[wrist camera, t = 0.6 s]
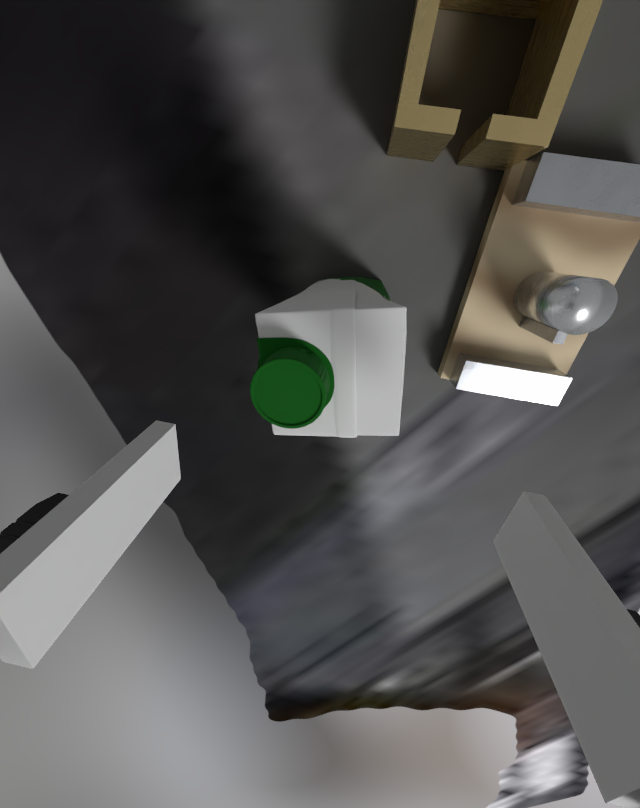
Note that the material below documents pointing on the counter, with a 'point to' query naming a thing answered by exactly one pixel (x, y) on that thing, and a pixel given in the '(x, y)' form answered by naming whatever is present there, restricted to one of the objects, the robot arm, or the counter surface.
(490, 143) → the gold square frame
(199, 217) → the counter surface
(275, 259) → the counter surface
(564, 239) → the bench plate
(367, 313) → the milk carton
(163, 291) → the counter surface
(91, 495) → the robot arm
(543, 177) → the grey metal piece
